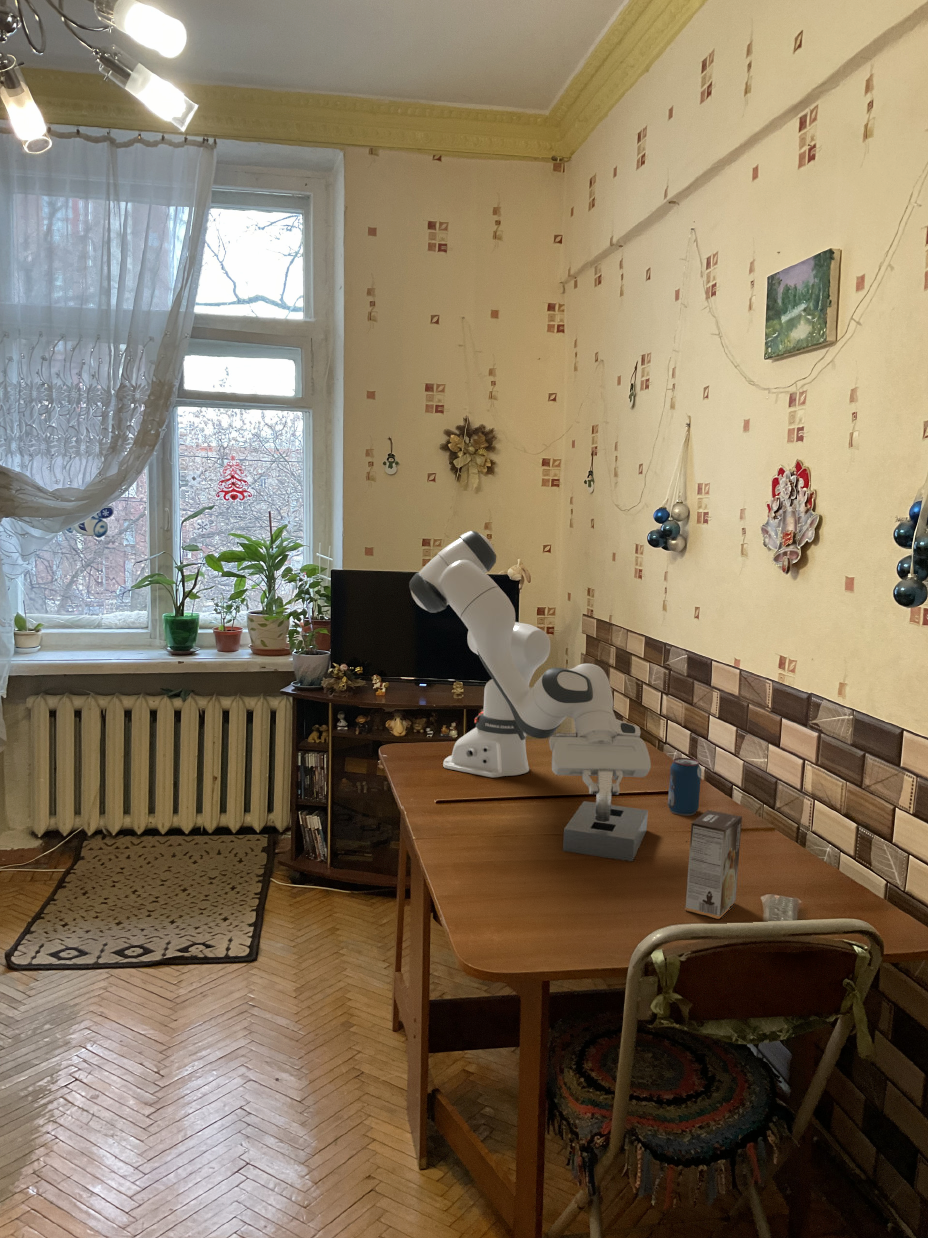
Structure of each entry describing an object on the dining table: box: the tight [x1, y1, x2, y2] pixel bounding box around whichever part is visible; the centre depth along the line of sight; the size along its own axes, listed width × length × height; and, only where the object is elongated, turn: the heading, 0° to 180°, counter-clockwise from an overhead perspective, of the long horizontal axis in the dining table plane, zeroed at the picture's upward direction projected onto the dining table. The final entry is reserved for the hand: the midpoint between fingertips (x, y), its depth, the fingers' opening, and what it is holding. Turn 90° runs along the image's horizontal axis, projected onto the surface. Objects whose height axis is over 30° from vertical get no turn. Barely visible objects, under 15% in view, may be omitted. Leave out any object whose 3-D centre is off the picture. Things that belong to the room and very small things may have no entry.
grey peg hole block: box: [562, 800, 649, 862], centre depth 197 cm, size 14×20×4 cm
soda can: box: [667, 757, 702, 816], centre depth 218 cm, size 7×7×12 cm
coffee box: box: [685, 809, 743, 916], centre depth 165 cm, size 9×6×16 cm
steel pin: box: [595, 769, 614, 822], centre depth 191 cm, size 3×3×10 cm
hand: (604, 793), depth 190 cm, fingers closed on steel pin, 3 cm apart
